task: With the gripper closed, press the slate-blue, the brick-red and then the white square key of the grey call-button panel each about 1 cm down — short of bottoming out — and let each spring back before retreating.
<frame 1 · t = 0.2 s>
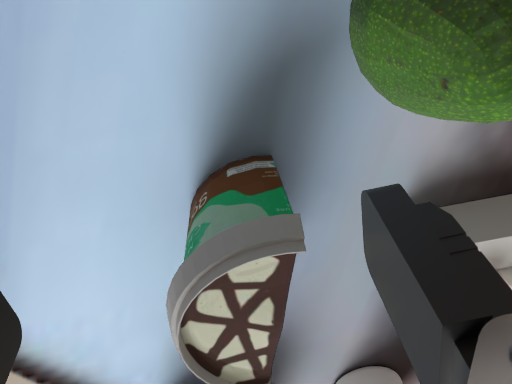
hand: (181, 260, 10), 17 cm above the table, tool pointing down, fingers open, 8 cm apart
bath foam: (364, 382, 45), on the table
food container: (218, 211, 31), on the table
button panel: (490, 247, 36), on the table
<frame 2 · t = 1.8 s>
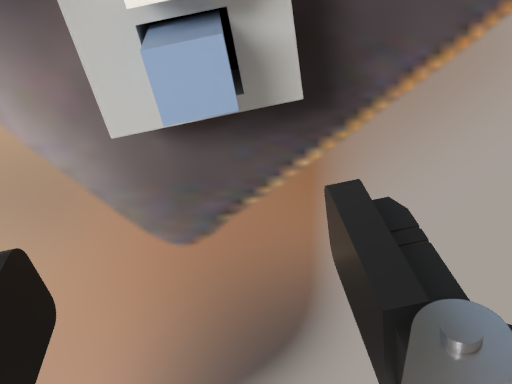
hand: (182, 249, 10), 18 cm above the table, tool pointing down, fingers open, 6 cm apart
blue key: (192, 66, 21), point 5 cm above the table, slide at 0.0 cm
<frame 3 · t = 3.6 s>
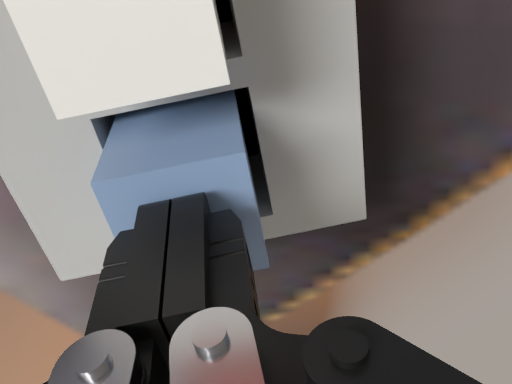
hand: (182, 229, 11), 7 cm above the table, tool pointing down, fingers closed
blue key: (189, 180, 13), point 5 cm above the table, slide at 0.2 cm, touching gripper
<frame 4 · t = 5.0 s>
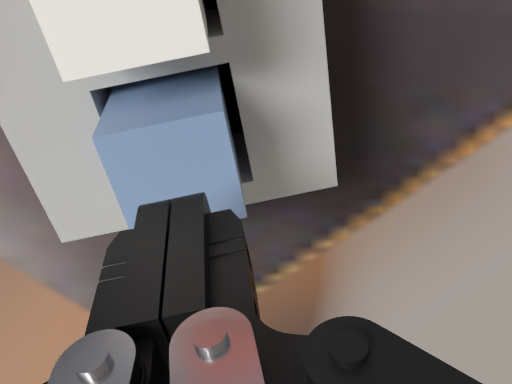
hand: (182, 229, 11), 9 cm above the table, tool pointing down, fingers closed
blue key: (177, 144, 14), point 4 cm above the table, slide at 0.4 cm
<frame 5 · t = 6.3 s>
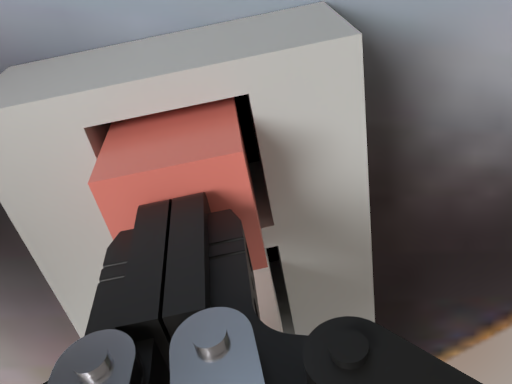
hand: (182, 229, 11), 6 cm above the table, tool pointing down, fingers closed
red key: (187, 180, 13), point 4 cm above the table, slide at 0.7 cm, touching gripper
white key: (226, 322, 15), point 5 cm above the table, slide at 0.0 cm
button panel: (220, 232, 19), on the table
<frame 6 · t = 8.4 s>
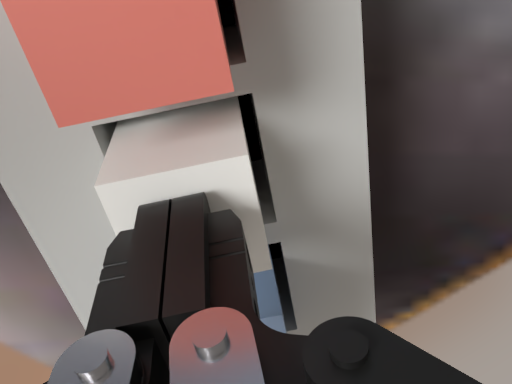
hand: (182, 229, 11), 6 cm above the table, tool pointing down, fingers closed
white key: (192, 182, 13), point 4 cm above the table, slide at 0.5 cm, touching gripper
blue key: (229, 308, 15), point 4 cm above the table, slide at 0.4 cm
button panel: (193, 120, 16), on the table
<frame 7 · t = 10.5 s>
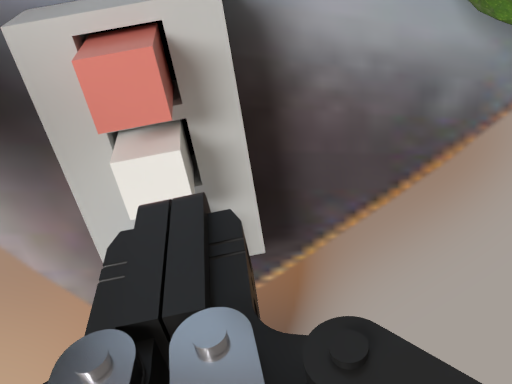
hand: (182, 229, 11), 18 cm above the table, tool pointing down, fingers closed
red key: (129, 76, 22), point 5 cm above the table, slide at 0.1 cm
white key: (156, 165, 25), point 5 cm above the table, slide at 0.2 cm
button panel: (159, 130, 28), on the table
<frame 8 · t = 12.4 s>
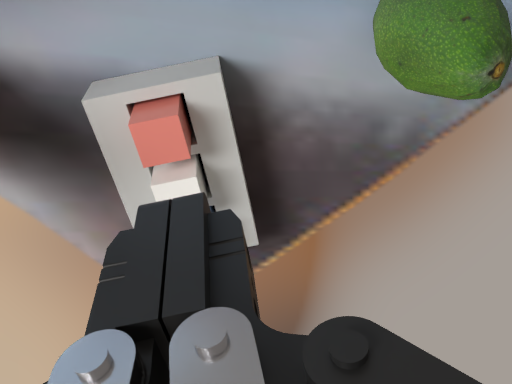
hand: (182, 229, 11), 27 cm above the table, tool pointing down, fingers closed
red key: (162, 128, 33), point 5 cm above the table, slide at 0.1 cm
white key: (180, 184, 36), point 5 cm above the table, slide at 0.2 cm
avocado: (407, 15, 36), on the table
blue key: (195, 232, 39), point 4 cm above the table, slide at 0.4 cm
button panel: (182, 157, 40), on the table
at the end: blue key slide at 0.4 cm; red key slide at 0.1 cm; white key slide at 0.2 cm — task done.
